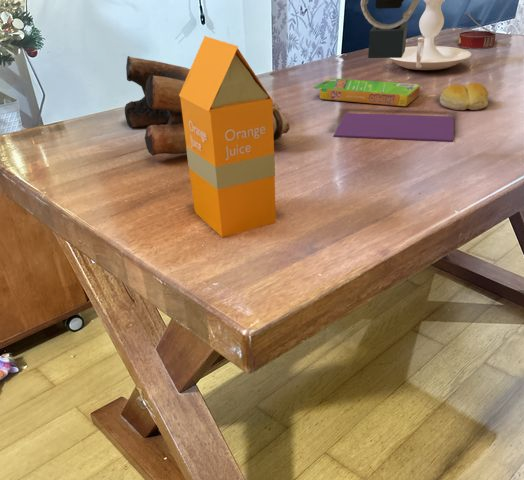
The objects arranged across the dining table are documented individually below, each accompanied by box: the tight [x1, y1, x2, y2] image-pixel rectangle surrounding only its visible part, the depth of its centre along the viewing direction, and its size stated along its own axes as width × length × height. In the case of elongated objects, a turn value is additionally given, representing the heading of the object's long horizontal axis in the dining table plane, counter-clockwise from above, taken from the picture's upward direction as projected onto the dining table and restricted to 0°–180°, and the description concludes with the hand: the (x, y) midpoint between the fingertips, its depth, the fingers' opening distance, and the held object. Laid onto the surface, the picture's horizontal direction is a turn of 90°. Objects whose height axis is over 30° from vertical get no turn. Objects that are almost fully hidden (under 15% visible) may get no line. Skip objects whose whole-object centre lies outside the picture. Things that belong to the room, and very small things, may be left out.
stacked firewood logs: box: [124, 55, 290, 157], centre depth 95 cm, size 13×31×25 cm
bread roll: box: [439, 82, 489, 111], centre depth 105 cm, size 8×9×4 cm
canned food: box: [457, 11, 497, 50], centre depth 153 cm, size 11×10×10 cm
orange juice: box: [179, 35, 277, 238], centre depth 64 cm, size 8×9×20 cm
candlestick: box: [389, 0, 472, 71], centre depth 125 cm, size 21×25×28 cm
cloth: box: [333, 112, 455, 142], centre depth 97 cm, size 20×14×1 cm
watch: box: [360, 0, 420, 59], centre depth 70 cm, size 6×8×11 cm
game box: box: [312, 78, 421, 107], centre depth 113 cm, size 3×10×20 cm
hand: (390, 3), depth 69 cm, fingers closed on watch, 4 cm apart
